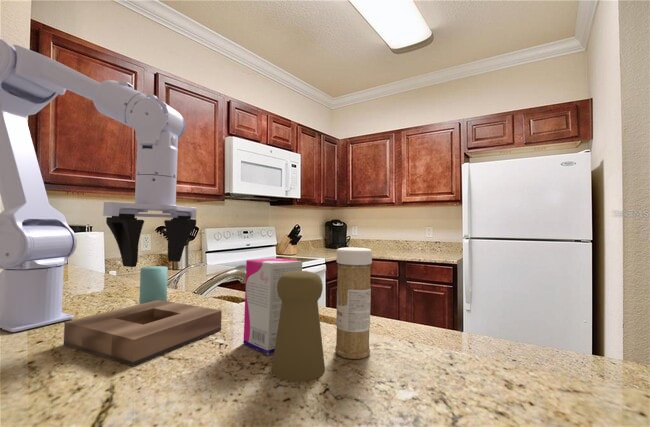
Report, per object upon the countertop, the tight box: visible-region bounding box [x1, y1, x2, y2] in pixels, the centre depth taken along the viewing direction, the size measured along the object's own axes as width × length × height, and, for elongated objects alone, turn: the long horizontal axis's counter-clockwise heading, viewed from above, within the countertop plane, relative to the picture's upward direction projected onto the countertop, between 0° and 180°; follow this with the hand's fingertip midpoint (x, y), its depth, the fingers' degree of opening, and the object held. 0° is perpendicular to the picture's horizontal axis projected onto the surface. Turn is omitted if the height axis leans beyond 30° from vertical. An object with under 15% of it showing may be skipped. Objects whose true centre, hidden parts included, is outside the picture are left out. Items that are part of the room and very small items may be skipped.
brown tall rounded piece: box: [271, 270, 326, 383], centre depth 37 cm, size 6×6×11 cm
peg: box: [138, 265, 169, 305], centre depth 59 cm, size 4×4×8 cm
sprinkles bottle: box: [334, 246, 373, 360], centre depth 41 cm, size 5×5×13 cm
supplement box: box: [242, 257, 303, 356], centre depth 44 cm, size 6×6×12 cm
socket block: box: [63, 300, 223, 367], centre depth 46 cm, size 14×14×3 cm
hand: (153, 263), depth 50 cm, fingers open, 7 cm apart
